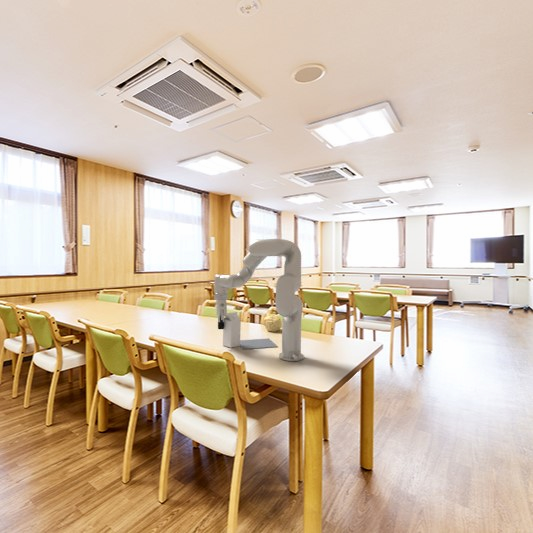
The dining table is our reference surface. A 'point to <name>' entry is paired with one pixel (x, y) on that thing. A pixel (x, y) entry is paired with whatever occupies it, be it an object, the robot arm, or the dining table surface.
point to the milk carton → (231, 330)
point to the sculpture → (272, 323)
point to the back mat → (257, 344)
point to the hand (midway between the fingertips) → (220, 328)
